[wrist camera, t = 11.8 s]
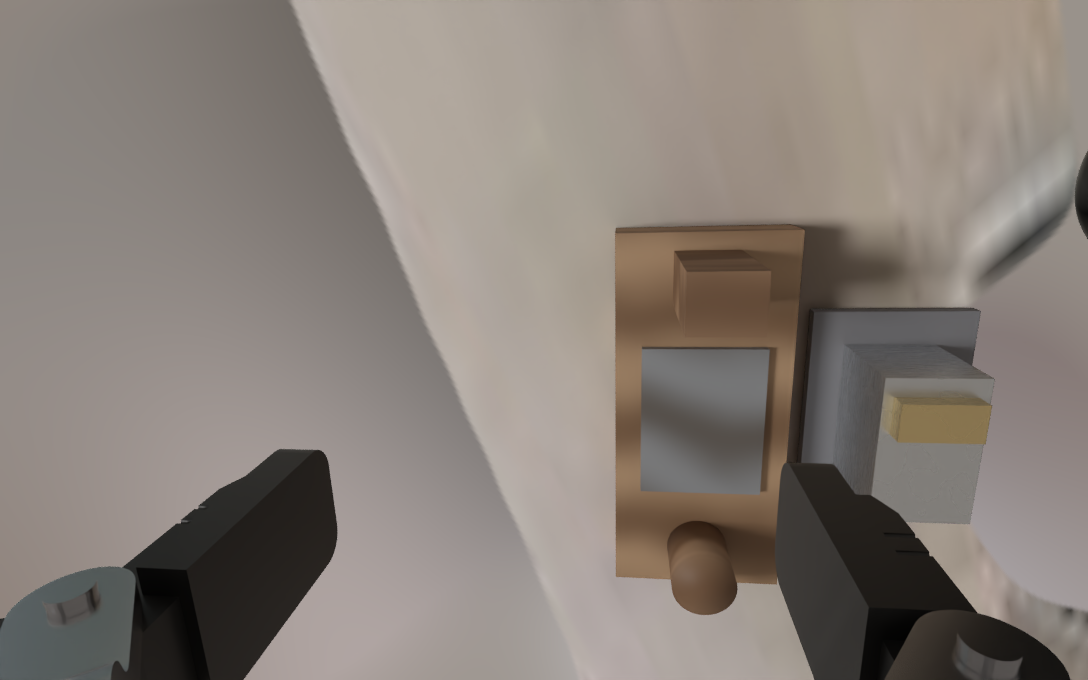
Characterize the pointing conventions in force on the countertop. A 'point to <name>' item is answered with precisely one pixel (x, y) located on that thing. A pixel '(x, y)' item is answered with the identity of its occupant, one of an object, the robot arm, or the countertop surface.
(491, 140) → the countertop surface
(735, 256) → the plane body
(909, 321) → the rubber mat
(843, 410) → the grey labelled box
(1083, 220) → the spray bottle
